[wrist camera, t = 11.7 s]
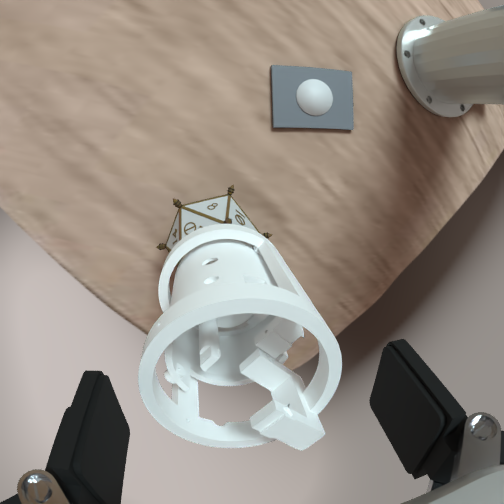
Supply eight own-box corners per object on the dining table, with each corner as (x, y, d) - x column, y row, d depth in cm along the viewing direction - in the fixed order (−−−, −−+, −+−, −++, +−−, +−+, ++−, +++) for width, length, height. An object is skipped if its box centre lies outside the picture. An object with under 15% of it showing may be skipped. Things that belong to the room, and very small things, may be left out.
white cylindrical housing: (221, 313, 25) (250, 485, 11) (149, 256, 22) (94, 417, 8) (286, 248, 24) (389, 386, 10) (215, 182, 21) (244, 265, 7)
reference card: (350, 72, 27) (352, 71, 27) (351, 129, 29) (353, 129, 29) (270, 66, 26) (272, 64, 26) (272, 127, 28) (273, 127, 28)
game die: (193, 229, 34) (123, 266, 26) (223, 160, 29) (145, 182, 21) (259, 281, 33) (201, 337, 25) (302, 216, 28) (245, 262, 20)
